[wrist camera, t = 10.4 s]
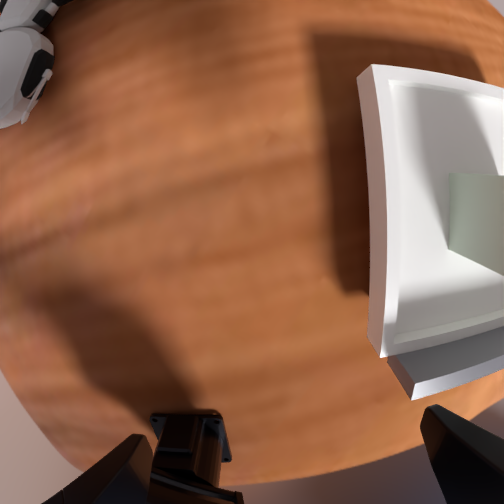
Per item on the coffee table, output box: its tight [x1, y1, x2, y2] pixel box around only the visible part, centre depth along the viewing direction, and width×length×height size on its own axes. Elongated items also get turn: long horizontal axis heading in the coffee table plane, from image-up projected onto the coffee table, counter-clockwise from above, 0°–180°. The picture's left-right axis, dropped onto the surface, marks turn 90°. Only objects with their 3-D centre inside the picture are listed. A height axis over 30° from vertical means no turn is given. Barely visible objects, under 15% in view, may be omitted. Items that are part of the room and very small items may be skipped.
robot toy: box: [0, 0, 73, 129], centre depth 14 cm, size 12×4×15 cm
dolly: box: [356, 64, 504, 400], centre depth 15 cm, size 17×14×8 cm
